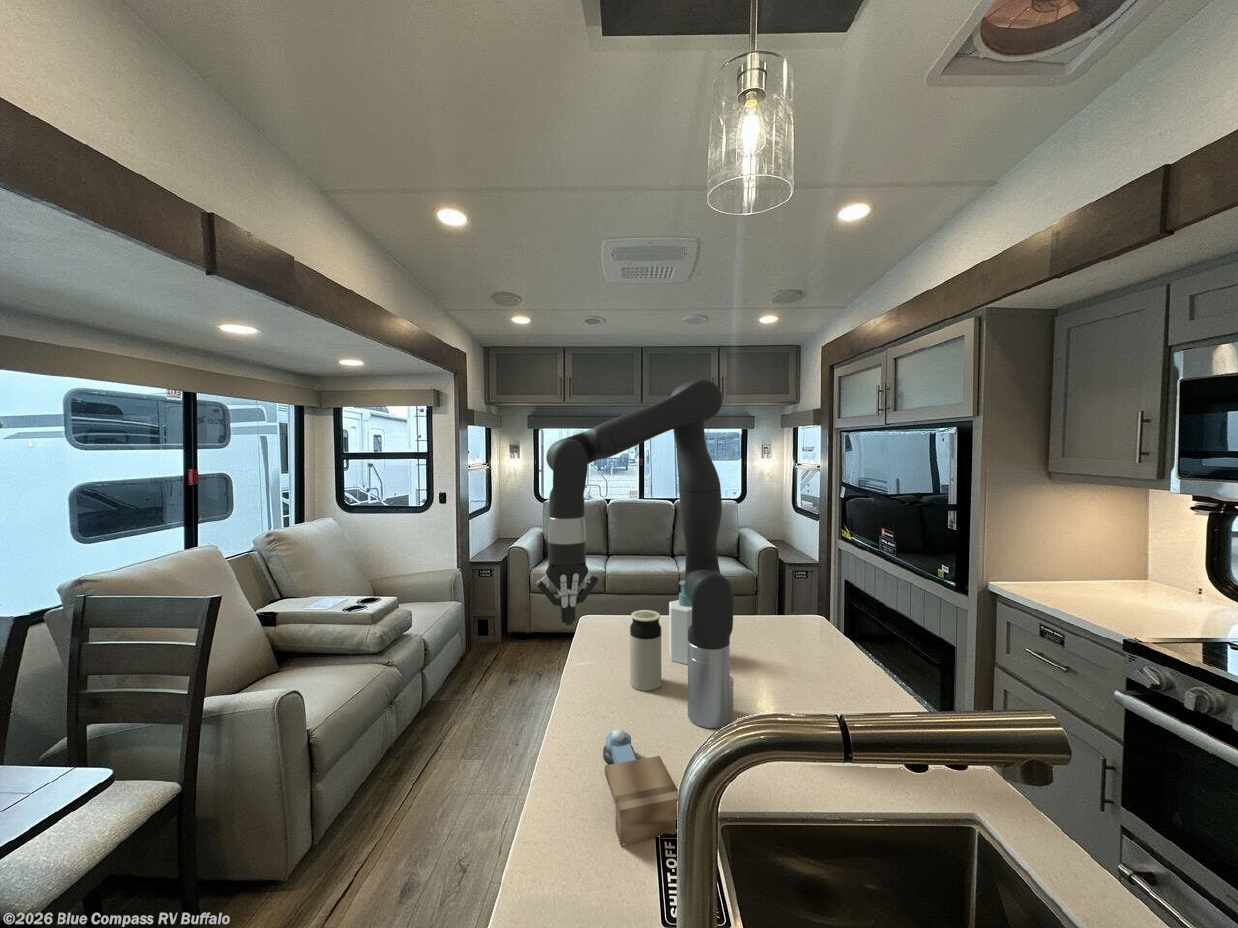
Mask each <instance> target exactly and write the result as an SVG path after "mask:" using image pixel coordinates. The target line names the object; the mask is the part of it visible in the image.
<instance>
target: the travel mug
mask: <svg viewBox="0 0 1238 928" xmlns="http://www.w3.org/2000/svg"><path fill="white" fill-rule="evenodd" d="M630 617H631V619H632V623H631V625H630V627H629V635H630V636H629V638H630V640H629V645H630V646H629V652H630V653H629V657H630V659H629V661H630V662H629V663H630V664H629V670H630V671H629V673H630V674H629V678H630V680H629V681H630V682H629V683H630V686H632V687H633V688H634V689H637V690H639V691H643V692H644V691H645V692H647V691H648V692H649V691H653V690H656V689H658V688H660V687H661V686H662V626H661V624H660V618H661V614H660V613H659V612H658V611H656V610H649V609H640V610H635V611H633V612H631V615H630Z"/></svg>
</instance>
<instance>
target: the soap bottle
mask: <svg viewBox="0 0 1238 928" xmlns="http://www.w3.org/2000/svg"><path fill="white" fill-rule="evenodd" d="M678 584H679V585H680V586H681V592H679V593H678V599H677V600H673V601H672V600H671V601H669V603H668V625H669V626H668V633H669V635H668V643H669V644H668V645H669V646H668V647H669V649H668V653H669V659H670V661H672V662H675V663H679V664H684V665H687V666H688V629H689V627H690V626H691V624H692V602H691V601H690V599H689V598H688V596H687V594H686V590H685V579H684V580H683V579H682V580H680V581H679V583H678Z"/></svg>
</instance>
